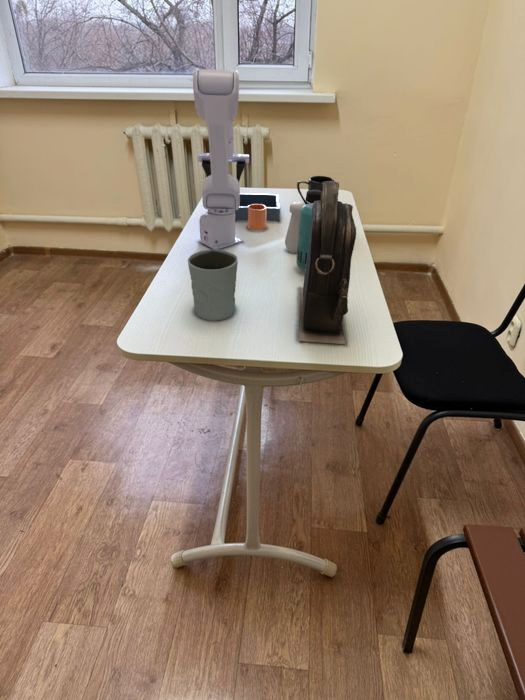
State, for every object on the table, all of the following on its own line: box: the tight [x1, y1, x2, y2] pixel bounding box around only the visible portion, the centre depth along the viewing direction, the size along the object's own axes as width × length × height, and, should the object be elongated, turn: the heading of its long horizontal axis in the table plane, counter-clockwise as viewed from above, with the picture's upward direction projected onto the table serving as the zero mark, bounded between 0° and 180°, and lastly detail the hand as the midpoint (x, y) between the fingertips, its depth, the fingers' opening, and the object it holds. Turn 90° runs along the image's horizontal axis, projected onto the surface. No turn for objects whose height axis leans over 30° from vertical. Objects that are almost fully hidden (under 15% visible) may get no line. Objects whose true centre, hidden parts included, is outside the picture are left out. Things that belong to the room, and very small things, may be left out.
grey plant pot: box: [187, 249, 239, 322], centre depth 99 cm, size 10×10×12 cm
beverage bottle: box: [296, 190, 322, 271], centre depth 114 cm, size 6×7×20 cm
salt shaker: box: [284, 201, 305, 254], centre depth 126 cm, size 6×6×13 cm
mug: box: [296, 175, 335, 205], centre depth 155 cm, size 8×12×10 cm
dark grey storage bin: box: [235, 192, 281, 222], centre depth 151 cm, size 14×14×4 cm
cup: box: [246, 204, 267, 231], centre depth 140 cm, size 6×6×6 cm
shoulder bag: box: [298, 180, 357, 345], centre depth 94 cm, size 23×9×28 cm, turn 176°
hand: (224, 187), depth 140 cm, fingers open, 7 cm apart
